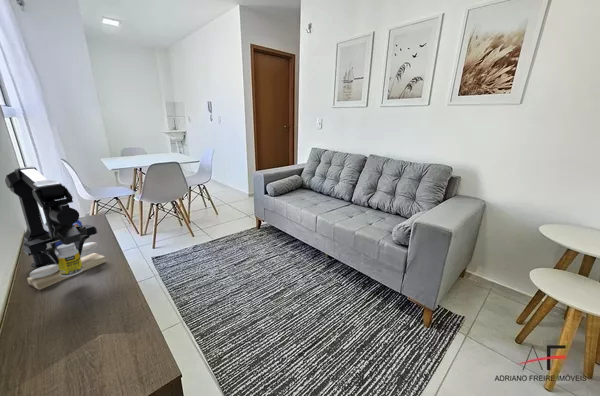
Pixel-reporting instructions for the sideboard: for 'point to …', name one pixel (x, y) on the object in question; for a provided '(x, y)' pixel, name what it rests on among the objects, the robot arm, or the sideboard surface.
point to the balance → (52, 273)
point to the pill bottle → (69, 260)
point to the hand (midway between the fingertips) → (68, 259)
